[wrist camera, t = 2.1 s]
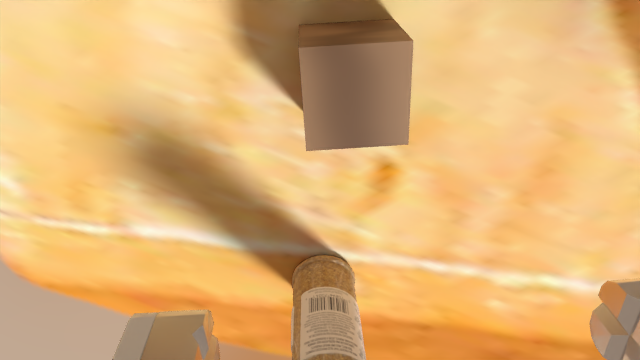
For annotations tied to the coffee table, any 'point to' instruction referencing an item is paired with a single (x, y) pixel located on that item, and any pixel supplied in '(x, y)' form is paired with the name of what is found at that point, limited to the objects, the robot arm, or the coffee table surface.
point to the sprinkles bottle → (325, 311)
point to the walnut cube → (355, 84)
